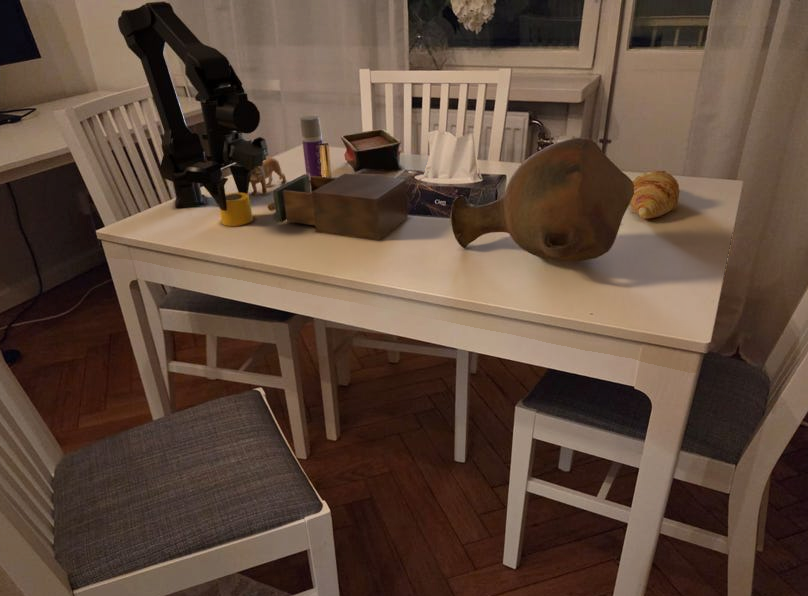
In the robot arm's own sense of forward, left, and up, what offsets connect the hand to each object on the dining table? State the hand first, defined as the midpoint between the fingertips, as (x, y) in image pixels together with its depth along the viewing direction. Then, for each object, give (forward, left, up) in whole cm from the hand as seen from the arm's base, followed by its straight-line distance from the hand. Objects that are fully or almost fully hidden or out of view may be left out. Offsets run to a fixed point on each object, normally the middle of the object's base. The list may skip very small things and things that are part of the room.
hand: (234, 205), depth 130 cm
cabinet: (+12, +25, -4) cm, 27 cm away
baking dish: (-29, +36, -4) cm, 46 cm away
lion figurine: (-19, +8, -4) cm, 21 cm away
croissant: (+23, +82, -4) cm, 85 cm away
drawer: (+4, +15, -3) cm, 16 cm away
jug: (+37, +50, -4) cm, 62 cm away
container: (-21, +20, -4) cm, 29 cm away
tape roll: (0, 0, -3) cm, 3 cm away
